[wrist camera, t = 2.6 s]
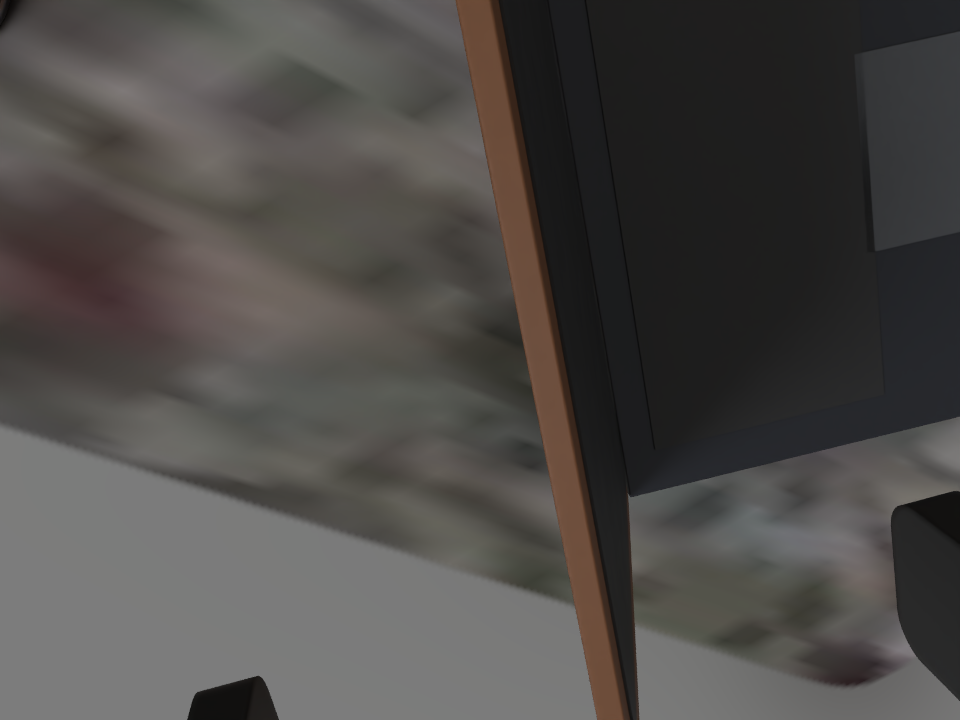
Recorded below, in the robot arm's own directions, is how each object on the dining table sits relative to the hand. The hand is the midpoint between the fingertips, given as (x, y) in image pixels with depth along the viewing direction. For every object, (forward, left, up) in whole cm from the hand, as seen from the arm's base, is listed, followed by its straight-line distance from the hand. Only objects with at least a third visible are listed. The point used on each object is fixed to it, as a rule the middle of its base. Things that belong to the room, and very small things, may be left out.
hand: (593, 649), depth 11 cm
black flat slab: (+18, -1, -34) cm, 38 cm away
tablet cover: (+5, -1, -22) cm, 22 cm away
